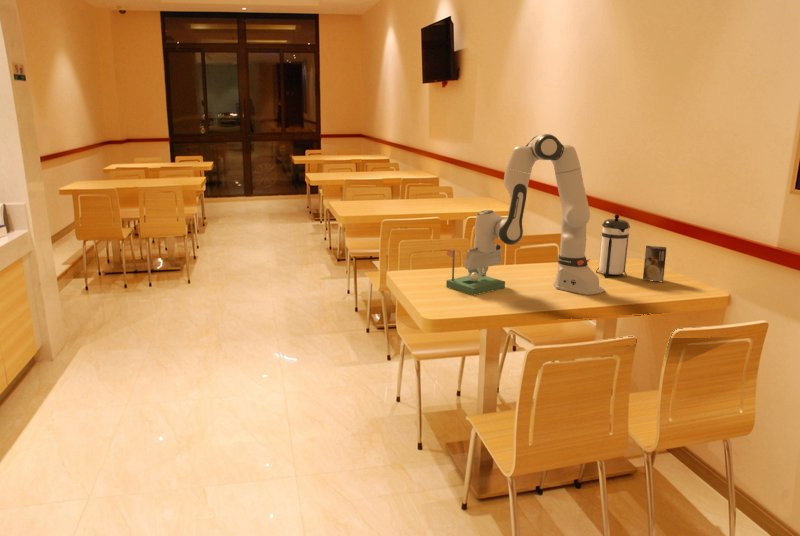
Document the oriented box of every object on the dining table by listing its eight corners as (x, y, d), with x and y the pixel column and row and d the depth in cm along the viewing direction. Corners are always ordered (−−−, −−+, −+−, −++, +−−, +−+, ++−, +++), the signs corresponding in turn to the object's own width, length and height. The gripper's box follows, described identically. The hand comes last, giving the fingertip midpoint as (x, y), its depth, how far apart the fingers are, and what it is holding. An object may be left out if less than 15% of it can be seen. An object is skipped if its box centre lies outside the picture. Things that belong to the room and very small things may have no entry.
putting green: (504, 287, 278) (506, 251, 274) (472, 295, 266) (474, 256, 262) (474, 278, 292) (475, 243, 288) (442, 285, 280) (443, 248, 276)
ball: (477, 271, 274) (473, 278, 273) (482, 276, 277) (477, 283, 276) (471, 269, 277) (466, 277, 276) (475, 274, 280) (471, 281, 279)
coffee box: (663, 279, 295) (666, 246, 291) (663, 283, 290) (667, 249, 286) (642, 277, 299) (646, 245, 295) (642, 280, 293) (645, 247, 289)
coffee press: (632, 274, 305) (639, 214, 297) (619, 280, 293) (626, 217, 286) (599, 268, 316) (604, 210, 308) (585, 274, 304) (590, 213, 297)
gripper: (472, 250, 268) (470, 281, 271) (504, 245, 280) (502, 274, 283) (462, 248, 273) (460, 278, 276) (494, 243, 285) (492, 272, 288)
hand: (482, 276), depth 280 cm, fingers closed
